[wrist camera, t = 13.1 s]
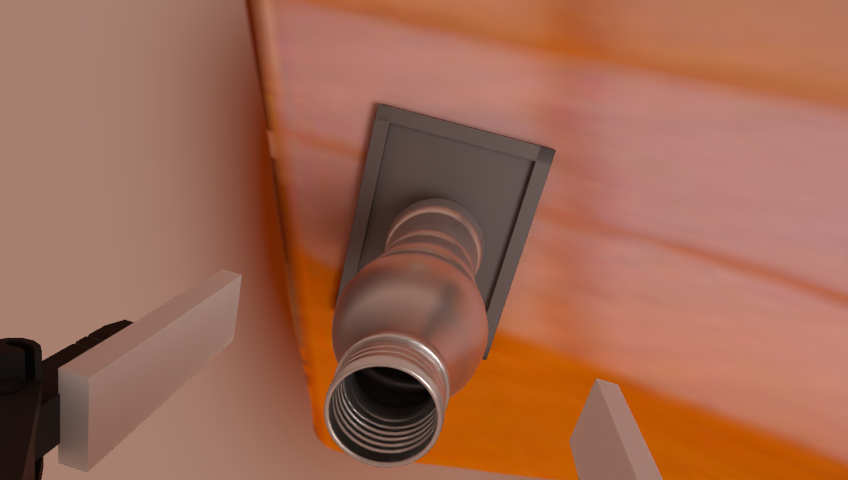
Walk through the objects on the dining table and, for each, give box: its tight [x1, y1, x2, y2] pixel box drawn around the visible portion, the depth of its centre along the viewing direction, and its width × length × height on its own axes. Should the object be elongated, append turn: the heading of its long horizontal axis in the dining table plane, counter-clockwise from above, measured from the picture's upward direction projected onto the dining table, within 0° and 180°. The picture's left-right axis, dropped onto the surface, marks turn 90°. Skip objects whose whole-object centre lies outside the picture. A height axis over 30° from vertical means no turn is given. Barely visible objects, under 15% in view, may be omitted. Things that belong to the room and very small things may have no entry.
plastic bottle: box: [324, 198, 488, 468], centre depth 23 cm, size 6×7×20 cm
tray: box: [335, 103, 556, 360], centre depth 32 cm, size 16×12×1 cm
